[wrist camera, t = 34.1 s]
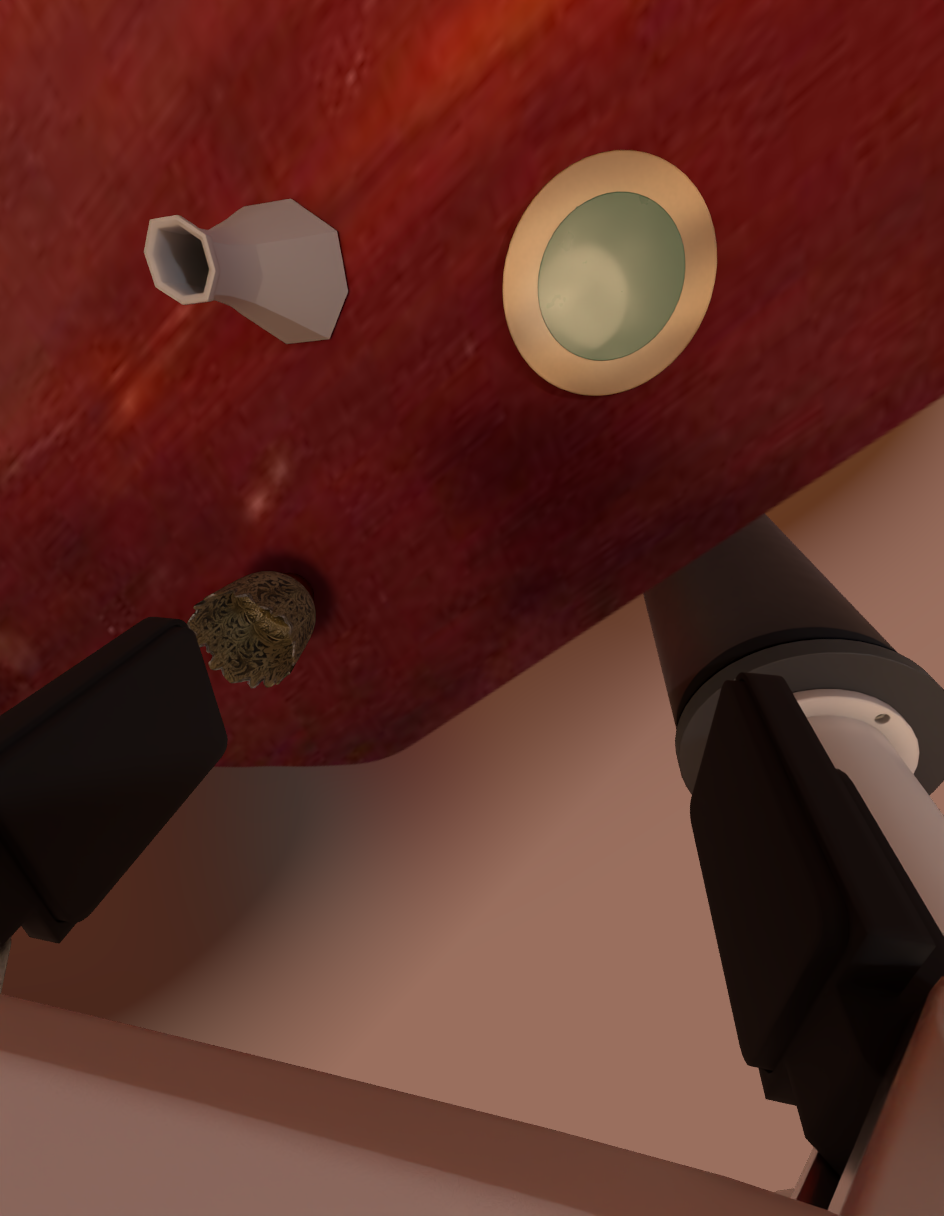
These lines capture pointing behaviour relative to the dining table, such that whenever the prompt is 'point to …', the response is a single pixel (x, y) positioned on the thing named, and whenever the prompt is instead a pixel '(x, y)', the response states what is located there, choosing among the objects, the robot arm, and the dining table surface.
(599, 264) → the jar lid
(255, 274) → the flask
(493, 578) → the dining table surface
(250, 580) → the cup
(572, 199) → the coaster
